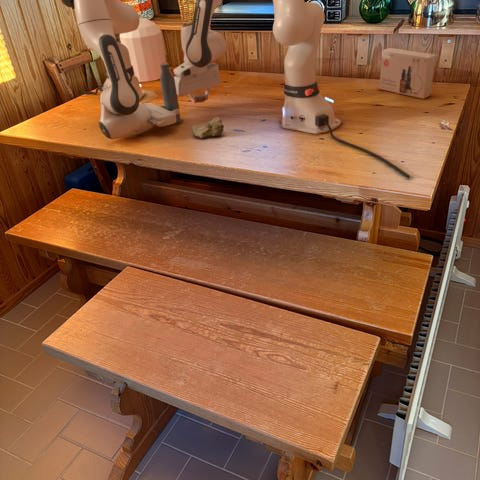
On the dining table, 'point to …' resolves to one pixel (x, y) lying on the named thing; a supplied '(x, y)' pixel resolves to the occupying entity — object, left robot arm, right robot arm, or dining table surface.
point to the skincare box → (407, 72)
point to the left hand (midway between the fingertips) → (174, 108)
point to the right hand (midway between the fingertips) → (200, 101)
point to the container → (145, 50)
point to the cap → (200, 97)
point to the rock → (209, 128)
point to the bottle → (169, 90)
